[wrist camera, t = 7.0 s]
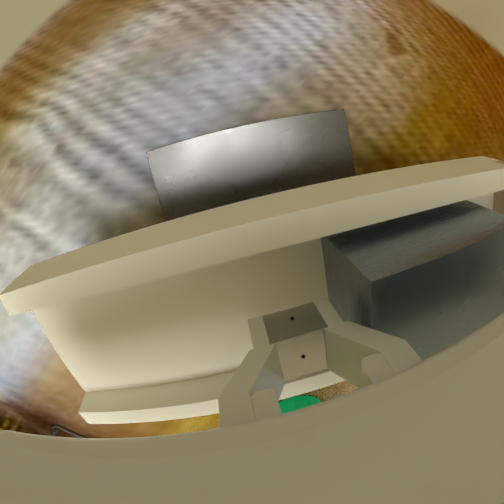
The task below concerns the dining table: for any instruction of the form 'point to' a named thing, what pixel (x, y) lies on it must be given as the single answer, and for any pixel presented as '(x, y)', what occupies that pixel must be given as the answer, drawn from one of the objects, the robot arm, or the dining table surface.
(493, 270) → the block
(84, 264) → the beam
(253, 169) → the pivot stand
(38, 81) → the dining table surface
